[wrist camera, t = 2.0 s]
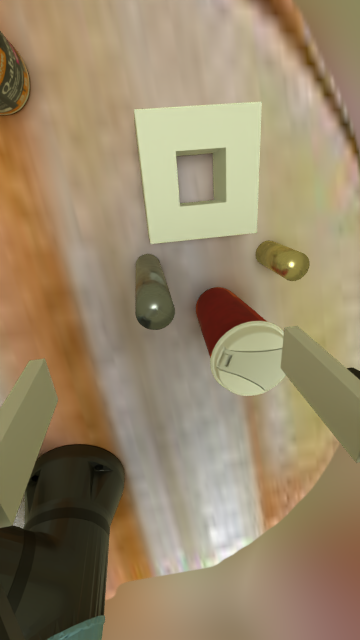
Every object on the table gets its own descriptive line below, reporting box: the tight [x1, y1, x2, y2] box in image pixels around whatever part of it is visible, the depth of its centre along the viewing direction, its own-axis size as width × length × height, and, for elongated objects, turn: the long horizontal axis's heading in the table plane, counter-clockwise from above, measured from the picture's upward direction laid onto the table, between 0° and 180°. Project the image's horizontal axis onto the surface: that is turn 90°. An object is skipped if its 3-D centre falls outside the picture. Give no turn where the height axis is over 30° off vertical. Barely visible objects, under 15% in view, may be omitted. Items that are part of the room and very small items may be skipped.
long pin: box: [136, 254, 175, 330], centre depth 28 cm, size 3×3×14 cm
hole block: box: [134, 102, 262, 244], centre depth 29 cm, size 11×11×5 cm
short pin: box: [256, 241, 309, 281], centre depth 33 cm, size 3×3×7 cm
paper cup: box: [196, 287, 286, 396], centre depth 32 cm, size 8×8×14 cm
